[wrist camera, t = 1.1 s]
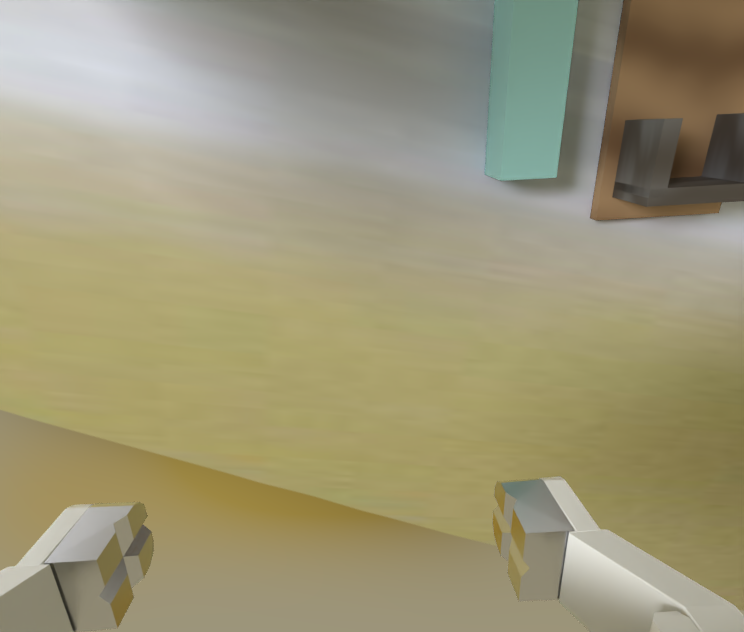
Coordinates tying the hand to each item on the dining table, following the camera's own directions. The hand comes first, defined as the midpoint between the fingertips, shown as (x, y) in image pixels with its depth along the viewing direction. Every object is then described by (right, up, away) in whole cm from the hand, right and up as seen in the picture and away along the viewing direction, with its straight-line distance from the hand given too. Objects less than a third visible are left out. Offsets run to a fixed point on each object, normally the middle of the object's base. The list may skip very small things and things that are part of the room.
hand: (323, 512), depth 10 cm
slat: (+12, +24, +21) cm, 34 cm away
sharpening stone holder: (+24, +24, +21) cm, 40 cm away
